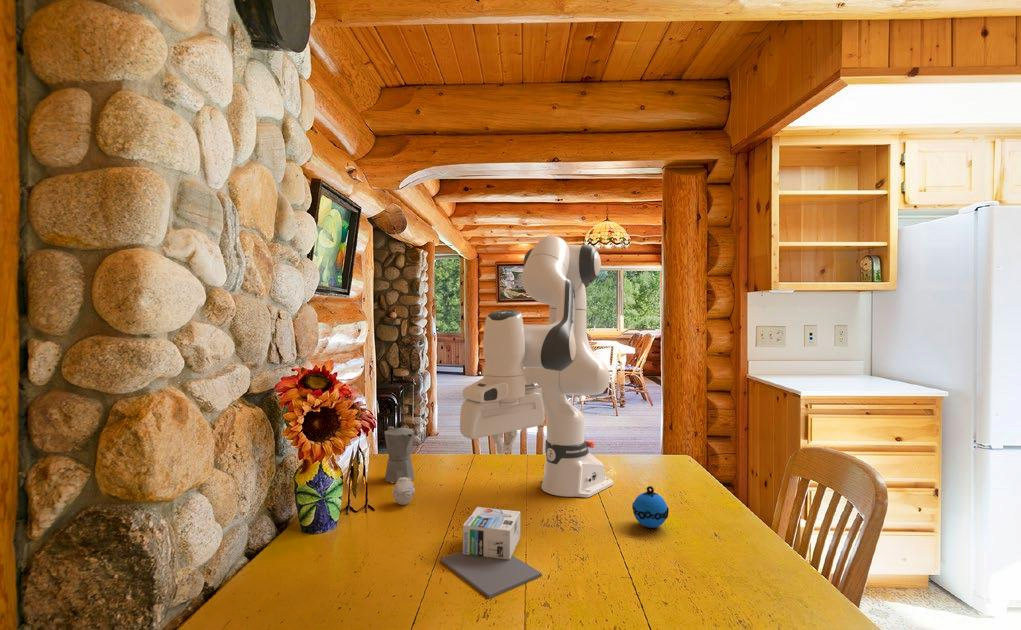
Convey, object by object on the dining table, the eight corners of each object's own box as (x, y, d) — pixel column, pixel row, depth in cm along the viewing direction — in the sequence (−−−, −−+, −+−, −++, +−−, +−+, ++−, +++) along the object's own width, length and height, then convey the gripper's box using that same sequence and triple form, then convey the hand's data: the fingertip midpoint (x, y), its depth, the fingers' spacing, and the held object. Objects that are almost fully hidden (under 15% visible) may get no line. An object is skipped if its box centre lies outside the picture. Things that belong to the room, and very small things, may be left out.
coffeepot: (424, 480, 164) (424, 422, 163) (398, 488, 157) (397, 428, 157) (397, 469, 175) (397, 415, 174) (371, 476, 168) (371, 419, 168)
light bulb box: (510, 530, 112) (461, 524, 115) (510, 561, 112) (461, 555, 115) (520, 510, 123) (476, 505, 125) (520, 538, 123) (475, 533, 125)
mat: (489, 543, 122) (489, 541, 121) (541, 576, 107) (541, 573, 107) (440, 561, 114) (440, 558, 113) (489, 598, 99) (489, 595, 99)
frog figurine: (418, 499, 149) (417, 474, 148) (410, 509, 142) (410, 483, 142) (396, 498, 149) (396, 474, 149) (388, 508, 142) (388, 482, 142)
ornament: (625, 527, 130) (626, 486, 130) (643, 516, 137) (643, 478, 136) (657, 537, 125) (658, 495, 124) (674, 526, 131) (674, 486, 131)
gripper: (532, 380, 121) (532, 440, 121) (455, 390, 108) (456, 457, 108) (550, 384, 116) (551, 447, 116) (472, 395, 103) (473, 465, 104)
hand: (504, 452), depth 112 cm, fingers closed
